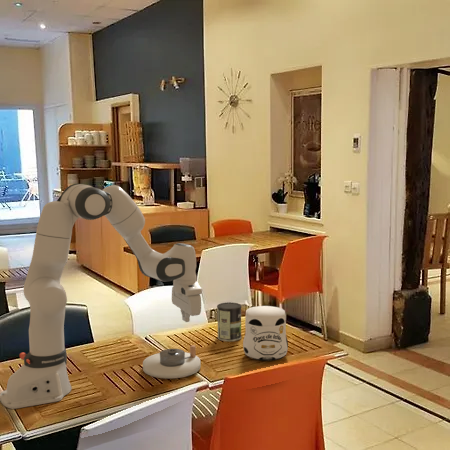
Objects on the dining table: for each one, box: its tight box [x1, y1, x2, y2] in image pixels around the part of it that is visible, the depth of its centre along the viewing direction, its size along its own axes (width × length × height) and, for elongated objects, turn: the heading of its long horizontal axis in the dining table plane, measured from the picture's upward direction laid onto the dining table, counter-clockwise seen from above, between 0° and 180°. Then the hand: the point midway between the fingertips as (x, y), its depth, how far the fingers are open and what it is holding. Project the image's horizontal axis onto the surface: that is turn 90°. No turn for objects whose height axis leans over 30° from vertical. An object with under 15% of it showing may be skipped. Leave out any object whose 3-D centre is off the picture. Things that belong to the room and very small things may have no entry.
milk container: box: [242, 305, 289, 362], centre depth 222 cm, size 17×17×18 cm
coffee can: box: [216, 301, 242, 342], centre depth 244 cm, size 10×10×14 cm
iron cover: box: [159, 348, 186, 367], centre depth 210 cm, size 9×9×5 cm
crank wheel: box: [142, 344, 202, 379], centre depth 210 cm, size 21×21×6 cm
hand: (186, 321), depth 219 cm, fingers closed
